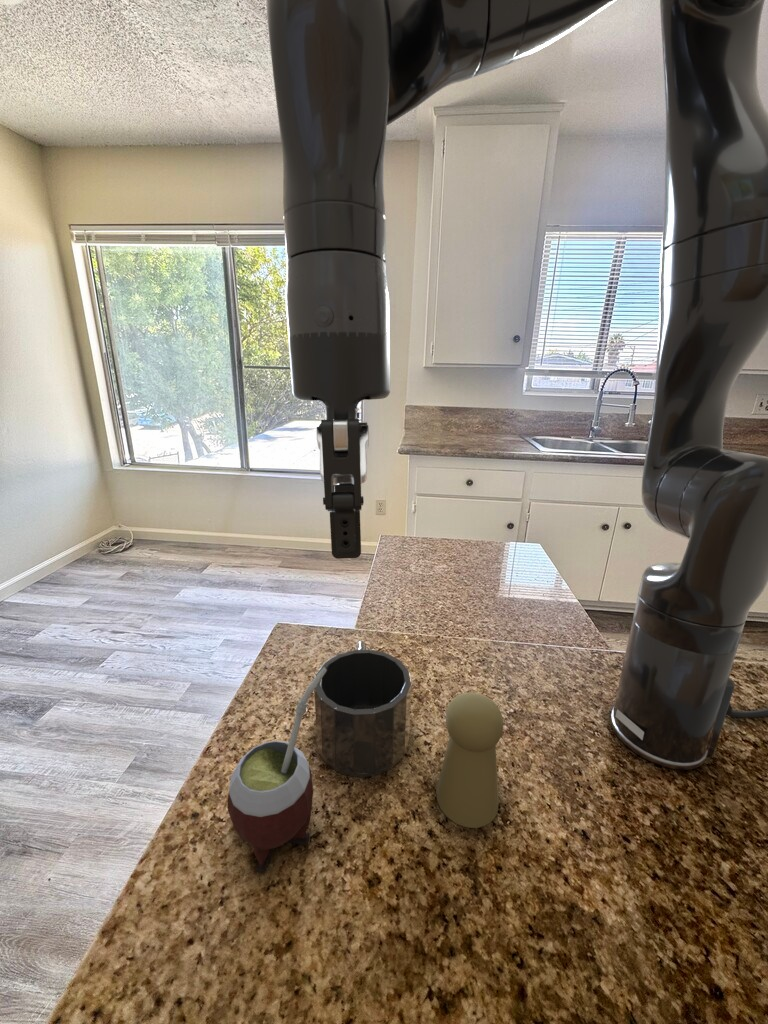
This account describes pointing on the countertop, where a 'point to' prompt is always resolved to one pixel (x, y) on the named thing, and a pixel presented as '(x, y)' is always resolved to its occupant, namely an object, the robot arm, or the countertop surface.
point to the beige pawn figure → (470, 761)
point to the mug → (363, 712)
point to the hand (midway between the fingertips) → (347, 537)
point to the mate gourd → (273, 792)
